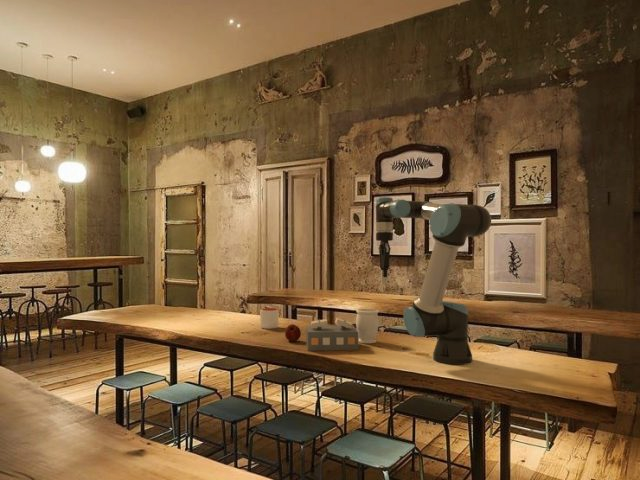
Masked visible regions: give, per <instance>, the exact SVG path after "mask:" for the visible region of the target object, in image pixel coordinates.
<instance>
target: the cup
mask: <svg viewBox="0 0 640 480" xmlns="http://www.w3.org/2000/svg"><path fill="white" fill-rule="evenodd" d="M259 312H260V314H259V316H260V317H259V321H260V323H259V327H260V328H261V329H265V330H272V329H277V328H278V327H279V324H280V323H279V320H280V319H279V316H280V315H279V313H280V312H279V308H276V307H275V308H273V307H269V308H268V307H266V308H261V309H259Z"/></svg>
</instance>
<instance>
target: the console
mask: <svg viewBox="0 0 640 480" xmlns="http://www.w3.org/2000/svg"><path fill="white" fill-rule="evenodd" d="M305 328H306V329H305V343H306V344H305V345H306V349H307V351H358V350H359V341H358V340H359V336H358V331H357V327H355V326H354V325H352V327H351V329H350V328H347V327H344V326H341V325H327V326H321V327H315V328H312V325H311V326H310V325H309V326H308V325H307V326H305Z"/></svg>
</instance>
